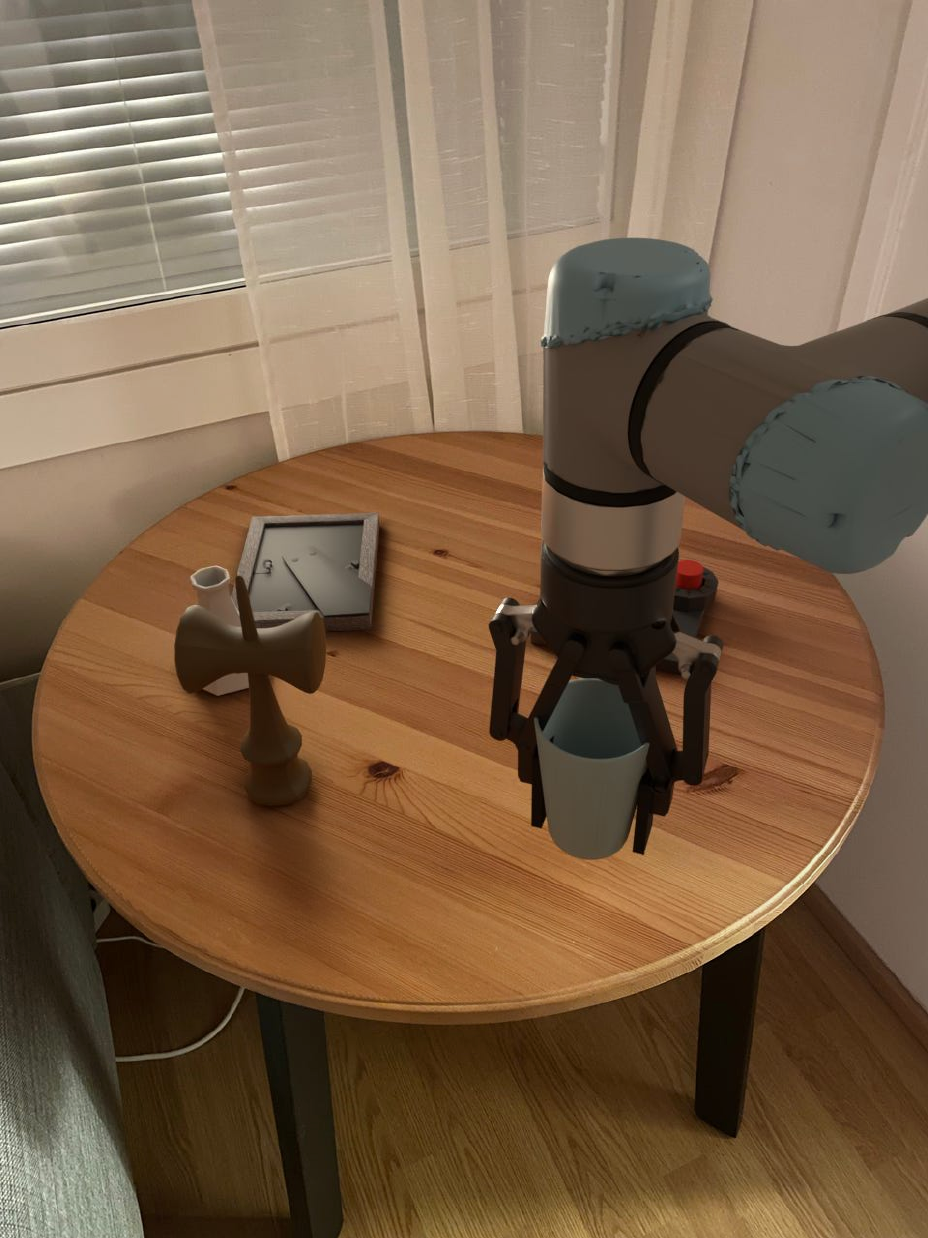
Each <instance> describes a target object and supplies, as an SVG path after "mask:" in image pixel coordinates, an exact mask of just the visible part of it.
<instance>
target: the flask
mask: <svg viewBox="0 0 928 1238" xmlns="http://www.w3.org/2000/svg"><path fill="white" fill-rule="evenodd" d="M189 578H190V582H191V585H192V588H193V589H194V591H196V593H197V605H199V606H201V607H203V608H205V609H206V610H208V611H209V612H211V613H212V614H214V615H215V616H217V617H218V618H220V619H221V620H223V621H225V622H226V623H228V624H230V625H232V626H235V627H241V622H240V616H239V611H238V610H237V608H236V607H235V605H234V602H233V600H232V598H231V592H230V587H229V585H230V584H231V583H232V580H231V576H230V573H229V570H228V569H226V568H224V567H221V566H218V565H212V566H208V567H203V568H200V569H199V570H197V571H195V573H193V574H192V575H190V576H189ZM245 689H249V682H248V673H240V674H236V673H234V674H229V675H226V676H224V677H222V678H220V679H218V680H216V681H214V682H213V683H211V684H209V685H208V686H206V687H204V688H203V689H202V690H203V691H206V692H208V693H210V694H213V695H215V696H217V697H218V696H222V695H225V694H226V695H227V694H230V693H234V692H238V691H241V690H245Z"/></svg>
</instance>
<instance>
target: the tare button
mask: <svg viewBox="0 0 928 1238" xmlns="http://www.w3.org/2000/svg"><path fill="white" fill-rule="evenodd" d="M703 567H704V566H703V565H702V564H701V563H700V562H699V561H696V560H693V559H682V560H678V569H677V577H676V587H678V588H680V589H685V590H694V589H698V588H699V587H700V586H701V583H702V576H703Z"/></svg>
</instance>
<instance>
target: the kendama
mask: <svg viewBox="0 0 928 1238" xmlns="http://www.w3.org/2000/svg"><path fill="white" fill-rule="evenodd" d="M234 583H235V588H236V596H237V603H238V610H239V616H240V622H241V627H235V626H232V625H230V624H228V623H226V622H225V621H223V620H221V619H220V618H218V617H217V616H215V615H214V614H212V613H211V612H209V611H208V610H206V609H205V608H203V607H201V606H199V605H198V604H193V605H189V606H188V607H186V609H185V611H184V612H183V614H181V616H180V618H179V621H178V624H177V627H176V630H175V638H174V644H173V645H174V646H173V648H174V649H173V657H174V658H173V660H174V667H175V674H176V677H177V679H178V682H179V684H180V686H181V688H182V690H184V692H186V693H187V694H190V695H193V694H195V693H198V692H199V691H201V690H204V689H203V688H204V687H206V686H208V685H209V684H211V683H213V682H214V681H216V680H218V679H220V678H222V677H224V676H226V675H229V674H234V673H236V674H240V673H248V682H249V688H248V694H249V695H248V696H249V697H248V698H249V730H248V731H247V732H245V734H244V736H243V738H242V739H241V741H240V747H239V751H240V754H241V756H242V757H243V759H244V760H245V761H246V762H248V763H249V764H250V768H249V770H248V772H247V773H246V775H245V779H244V790H245V792H246V795H247V797H248V799H250V800H251V801H252V802H255V803H256V804H258V805H262V806H266V807H267V806H269V807H279V806H288V805H290V804H292V803H295V802H298V801H299V800H300V799H301V798H303V797H304V796H305V795H306V794H307V793H308V792H309V789H310V788H311V785H312V782H313V779H312V778H313V770H312V769H311V766H310V764H309V763H308V762H307V761H306V760H305V759H302V758H300V757H299V756H298V754H299V752H300V750H301V748H302V746H303V736H302V734H301V732H300V730H299V728H297V727H296V726H293V725H291V724H289V723H288V722H287V720H286V718H285V716H284V714H283V711H282V709H281V706H280V704H279V701H278V699H277V696H276V694H275V690H274V687H273V685H272V682H271V678H270V677H274V678H276V679H279V680H281V681H283V682H285V683H287V684H288V685H290V686H292V687H294V688H296V689H297V690H299V691H301V692H303V693H306V694H309V695H311V694H315V693H316V692H317V691H318V690H319V688H320V687H321V684H322V682H323V680H324V675H325V674H324V673H325V670H326V659H327V637H326V631H325V628H324V624H323V620H322V618H321V617H320V615H319V613H318V612H316V611H312V612H309V613H306V614H304V615H302V616H300V617H298V618H296V619H294V620H292V621H290V622H288V623H285V624H283V625H281V626H277V627H273V628H261V629H258V628H256V624H255V620H254V616H253V612H252V607H251V603H250V599H249V595H248V591H247V587H246V584H245V581H244V579H243V577H242V576H241V575H237V574H236V575H235V579H234Z"/></svg>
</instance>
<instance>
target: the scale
mask: <svg viewBox="0 0 928 1238" xmlns="http://www.w3.org/2000/svg"><path fill="white" fill-rule="evenodd" d="M718 587H719V579H718V578H717V576H716V574H715V573H714V572H713V571H712V570H710V569H708V568H707V567H705V566H703V576H702V583H701V586H700V587H699V588H698V589H694V590H685V589H680V588H678V587H676V586H675V595H674V604H673V613H674V617H675V619H676V621H677V623H678V625H679V629H680V632H682V633H684V634H686V635H689V636H691V637H694V638H696V639H698V634H699V632H700V628H701V625H702V621H703V618H704V615H705V611H706V610H707V608H709V607H710V606H712V605H714V604H715V602H716V598H717V593H718ZM530 644H534V645H540V646H543V647H548V645H547V644H546V643H545V641H544V640H543V638H542V637H541V636H540V634H539V633H538V632H537V630H536V629H535V627H533V628H532V631H531V633H530ZM656 671H662V672H666V673H671V674H675V675H680V676H681V672H680V671H679V669H678V659H677V657H676V656H675V655H673V654H670V655H668V656H667V657H666V658H665V659H663V660H662V661H661V662H659V663H658V664H657V665H656Z"/></svg>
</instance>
